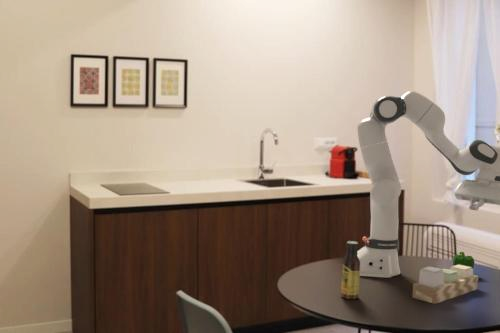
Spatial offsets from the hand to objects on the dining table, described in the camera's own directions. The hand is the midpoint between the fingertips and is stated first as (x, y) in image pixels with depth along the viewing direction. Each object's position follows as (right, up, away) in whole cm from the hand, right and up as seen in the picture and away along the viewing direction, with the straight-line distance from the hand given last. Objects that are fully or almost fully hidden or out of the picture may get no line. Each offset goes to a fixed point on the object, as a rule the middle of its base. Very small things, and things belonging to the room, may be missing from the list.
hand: (473, 209), depth 233 cm
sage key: (-13, -29, -10) cm, 33 cm away
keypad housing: (-13, -30, -10) cm, 34 cm away
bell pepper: (+1, -28, +16) cm, 33 cm away
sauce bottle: (-50, -30, -17) cm, 61 cm away
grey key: (-21, -27, -16) cm, 38 cm away
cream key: (-6, -28, -3) cm, 29 cm away
